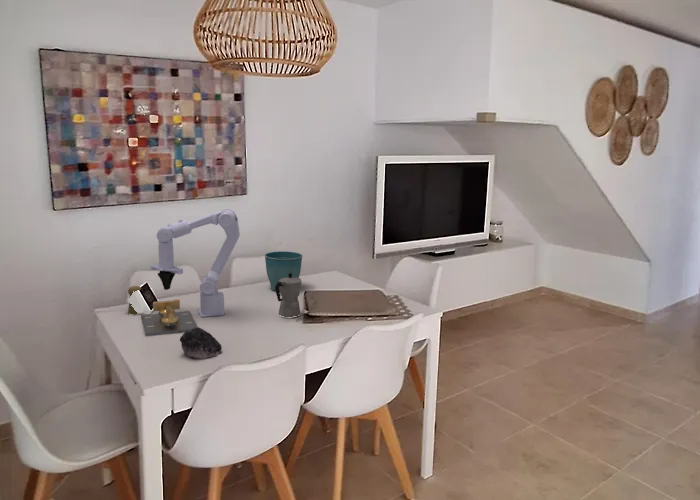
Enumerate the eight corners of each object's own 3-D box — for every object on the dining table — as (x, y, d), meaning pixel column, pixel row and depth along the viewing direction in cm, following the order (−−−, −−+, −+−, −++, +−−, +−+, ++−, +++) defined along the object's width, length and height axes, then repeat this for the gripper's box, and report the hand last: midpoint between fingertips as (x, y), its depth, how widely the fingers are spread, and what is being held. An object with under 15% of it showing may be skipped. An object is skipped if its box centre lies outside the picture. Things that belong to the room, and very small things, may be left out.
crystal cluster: (224, 347, 203) (221, 319, 202) (220, 358, 190) (217, 329, 189) (185, 350, 202) (183, 322, 200) (179, 362, 188) (176, 333, 187)
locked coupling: (152, 312, 228) (152, 299, 227) (178, 309, 232) (178, 297, 231) (154, 316, 223) (153, 304, 222) (180, 314, 227) (180, 302, 226)
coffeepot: (291, 309, 246) (292, 268, 242) (308, 313, 241) (309, 272, 237) (266, 317, 233) (267, 275, 230) (283, 322, 228) (284, 279, 224)
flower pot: (265, 283, 284) (265, 250, 280) (301, 284, 286) (302, 251, 282) (263, 294, 266) (263, 258, 263) (302, 294, 268) (303, 259, 265)
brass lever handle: (176, 317, 223) (176, 304, 222) (179, 325, 215) (179, 312, 213) (160, 318, 221) (160, 306, 220) (163, 327, 212) (162, 314, 211)
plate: (189, 313, 235) (189, 308, 235) (198, 330, 216) (198, 326, 215) (140, 317, 228) (140, 313, 227) (145, 336, 208) (145, 331, 208)
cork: (138, 315, 230) (137, 289, 228) (124, 314, 231) (123, 288, 229) (146, 311, 236) (145, 285, 234) (133, 309, 237) (132, 284, 235)
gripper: (144, 256, 228) (145, 289, 231) (174, 260, 223) (175, 294, 225) (156, 253, 234) (157, 285, 237) (185, 257, 229) (186, 289, 232)
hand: (167, 289), depth 232 cm, fingers closed
